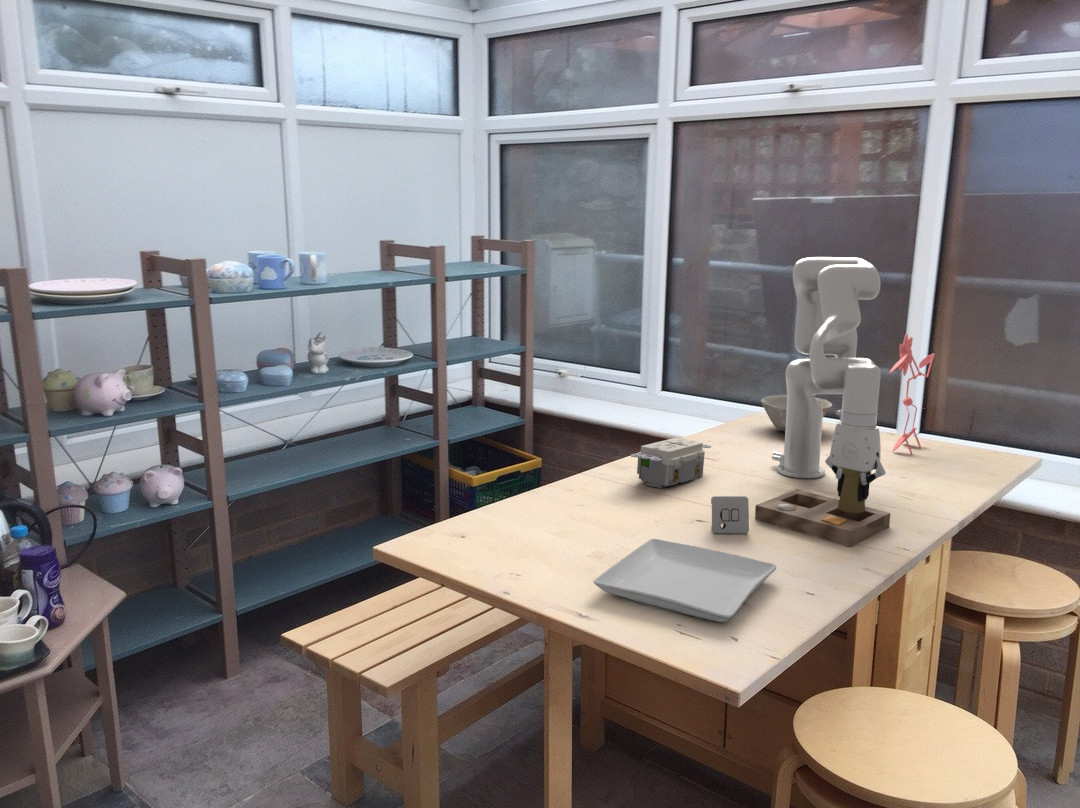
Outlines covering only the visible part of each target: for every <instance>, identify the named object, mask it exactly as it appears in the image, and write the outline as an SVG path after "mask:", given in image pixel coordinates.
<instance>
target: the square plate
mask: <svg viewBox="0 0 1080 808" xmlns="http://www.w3.org/2000/svg"><path fill="white" fill-rule="evenodd" d="M777 567H778V566H777V565H776V564H774V563H770V562H766V561H762V560H758V559H753V558H748V557H746V556H742V555H736V554H732V553H728V552H724V551H720V550H715V549H710V548H705V547H701V546H694V545H690V544H686V543H679V542H674V541H669V540H664V539H659V538H650V539H648V540H647V541H646V542H644V543H642V545H640V546H639V547H637V548H636V549H635V550H633V551H632V552H630V553H628V554H627V555H625V556H624V557H623V558H622V559H620V560H619V561H618V562H616V563H615V564H614V565H612V566H611V567H610V568H608V569H607V570H606V571H604V572H603V573H602V574H600V575H599V576H598V577H596V578H595V579H594V580H593V581H592V582H593V584H594V585H596V587H598V588H599V589H600V590H602V591H604V592H605V593H608V594H611V595H614V596H618V597H622V598H626V599H629V600H632V601H635V602H638V603H643V604H647V605H650V606H654V607H659V608H662V609H665V610H670V611H674V612H678V613H682V614H685V615H689V616H692V617H697V618H700V619H704V620H709V621H712V622H713V621H714V622H718V623H725V622H727V621H729V620H730V619H731V618H732V617H734V616H735V615H736V613H737V612H738V611H739V610H740V609H741V607H742V606H743V604H744V603H745V602H746V601H747V599H748V598H749V596H750V595H752V594H753V593H754V591H755V590H756V589H758V588H759V587H760V586H761V585H762V584H763V583H764V582H766V580H767V579H768V578H769V577H770V576H771V575H772V574H773V573H774V572H775V571H776V569H777Z"/></svg>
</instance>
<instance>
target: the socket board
mask: <svg viewBox="0 0 1080 808" xmlns="http://www.w3.org/2000/svg"><path fill="white" fill-rule="evenodd" d="M838 503H839V499H838V498H834V497H829V496H826V495H822V494H818V493H814V492H810V491H805V490H803V489H797V488H796V489H794V490H790V491H788V492H786V493H783V494H781V495H778V496H776V497H773V498H771V499H769V500H765V501H763V502H759V503H757V504H756V505H755V511H754V512H755V514H754V520H756V521H760V522H763V523H767V524H770V525H773V526H777V527H780V528H783V529H787V530H790V531H793V532H797V533H798V532H799V533H801V534H804V535H808V536H811V537H814V538H818V539H822V540H823V541H824V540H825V541H829V542H831V543H835V544H839V545H842V546H846V547H849V548H851V547H853V546H855V545H857V544H859V543H861V542H863V541H866V540H867V539H869V538H871V537H873V536H875V535H877V534H879V533H881V532H883V531H885V530H887V529H889V528H890V525H891V524H890V522H891V512H890V511H885V510H881V509H878V508H873V507H869V506H866V505H865V511H864V512H862V513H849V512H844V511H841V510H839V509H838Z"/></svg>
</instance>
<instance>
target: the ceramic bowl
mask: <svg viewBox="0 0 1080 808" xmlns="http://www.w3.org/2000/svg"><path fill="white" fill-rule="evenodd" d="M815 399H816V400H817V401H818V403H819V404H820V405H821V407H822V410H823V418H825V416H826V415H827V413H828V412H829V410H830V409H831V408H832V406H833V403H832V402H830V401H829V400H827V399H824V398H820V397H815ZM761 404H762V407H763V409H764V411H765V413H766V415H767V416H768V418H769V420H770V422H771V424H772V425H773V426H774V427H775V428H776V429H778V430H779V431H782V432H784V433H785V431H786V414H787V394H783V395H782V394H781V395H778V394H776V395H768V396H764V397H762V398H761Z"/></svg>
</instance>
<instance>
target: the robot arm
mask: <svg viewBox="0 0 1080 808" xmlns="http://www.w3.org/2000/svg"><path fill="white" fill-rule="evenodd" d="M792 282H793V289H794V292H795V296H796V301H797V305H796V315H795V316H796V317H795V326H794V327H795V329H794V349H795V350H796V351H797V352H798V353H800V354H803V355H809V357H808V358H798V359H794V360H792V361H791V362H789V363H788V364H787V366H786V369H785V383H786V384H785V385H786V395H787V414H786V431H785V432H784V433H785V434H784V449H783V450H784V451H783V453H782V452H779V451H773V452H772V453H773V454H772V456H771V459H772V461H779V464H778V465H777V467H776V471H777V473H779V474H781V475H783V476H786V477H790V478H795V479H817V478H822V477H823V476H824V475H825V473H826V471H825V468H824V467H822V466H820V460H821V449H822V448H821V446H822V435H823V433H822V432H823V421H824V420H823V418H824V417H823V410H822V407H821V405H820V404H819V403H818V401H817V400H816V399H815V398H816V397H815V396H817V395H842V400H841V409H840V410H836V412H835V415H836V417H839V420H840V421H837V423H836V424H835V429H834V432H833V436H832V440H831V446H830V453H829V456H828V457H826V460H825V461H824V462H825V465H827V466H828V467H829V468H830V469H831V470H832V472H833V474H834V475H835V478H836V479H837V487H836V488H837V490H836V491H837V497H839V498H840V494H841V490H842V485H843V481H844V476H845V475H844V474H843V471H842V469H843V468H844V469H849V470H853V471H857V472H861V484H859V487H858V501H859V502H862V501H864V500H865V501H866V500H868V498H869V494H870V485H871V483H873V482H874V481H875V480H877V479H878V478H880V477H883V476H885V475H886V470H885V468H884V466H883V464H882V462H881V433H880V428H879V426H877V420H878V410H879V409H878V406H879V397H880V388H881V387H880V384H881V376H882V375H881V369H880V367H879V366H877V365H876V364H875V362H874V361H873V360H872V359H870V358H866V357H865V358H864V357H856V356H857V350H858V349H857V347H858V332H857V328H858V327H859V326H860V324H861V321H862V315H861V311H860V305H859V304H860V303H859V300H861V301H863V300H867V301H868V300H869V301H870V300H874V299H876V298H877V297H878V295H879V294H880V291H881V278H880V274H879V272H878V269H877V268H876V267H875V265H873V264H872V263H871V262H868V260H865V259H864V258H860V257H846V256H845V257H841V256H840V257H839V256H838V257H835V256H833V257H832V256H811V257H805V258H801V259H799V260H798V261H796V262H795V264H794V266H793V270H792ZM829 356H830V357H829ZM831 356H833V357H831ZM872 471H875V472H873V473H872Z"/></svg>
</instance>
